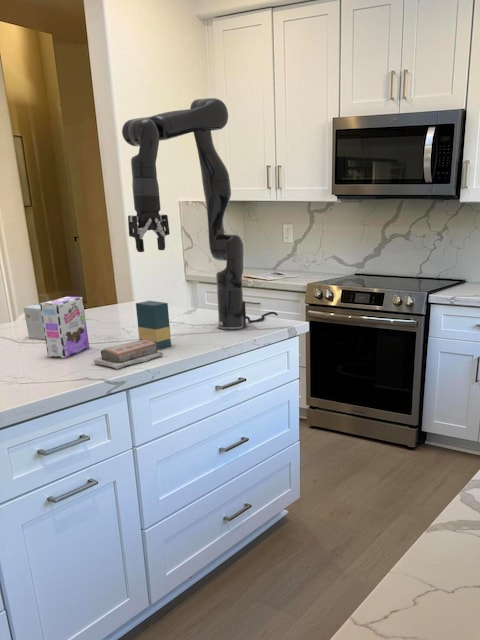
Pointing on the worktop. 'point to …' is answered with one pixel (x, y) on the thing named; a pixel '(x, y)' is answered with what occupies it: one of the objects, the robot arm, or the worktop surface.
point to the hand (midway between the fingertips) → (151, 251)
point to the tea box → (154, 323)
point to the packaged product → (128, 354)
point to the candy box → (64, 326)
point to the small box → (34, 321)
